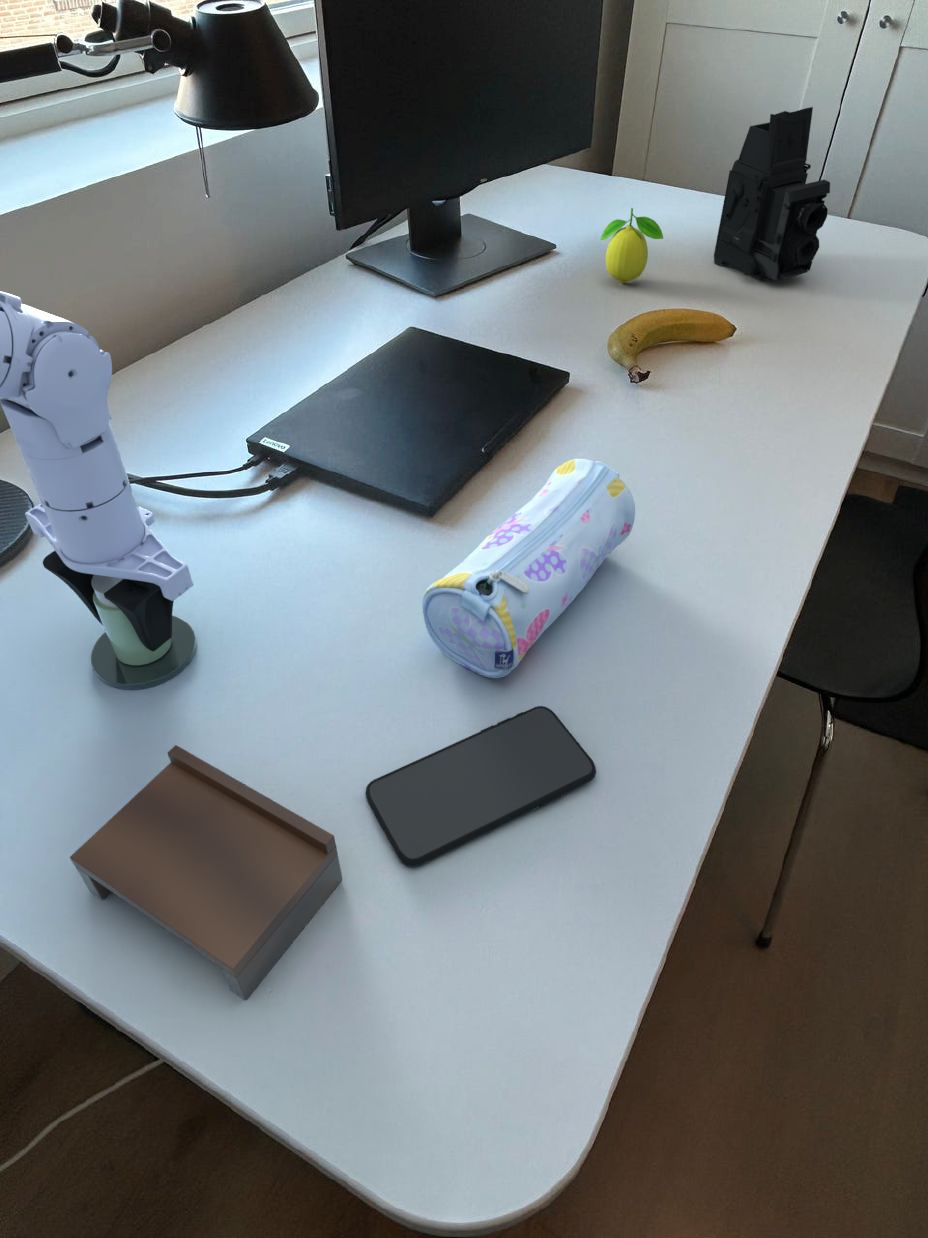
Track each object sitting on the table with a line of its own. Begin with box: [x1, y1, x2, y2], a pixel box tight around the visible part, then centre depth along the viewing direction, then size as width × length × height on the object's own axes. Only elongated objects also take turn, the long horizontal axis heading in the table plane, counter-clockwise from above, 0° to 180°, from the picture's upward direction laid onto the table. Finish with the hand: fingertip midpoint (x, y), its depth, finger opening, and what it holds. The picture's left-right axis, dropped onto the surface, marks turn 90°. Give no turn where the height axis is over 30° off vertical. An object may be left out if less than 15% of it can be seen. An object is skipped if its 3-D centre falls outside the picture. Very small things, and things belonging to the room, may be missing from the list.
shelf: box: [69, 744, 343, 1001], centre depth 53 cm, size 9×13×5 cm
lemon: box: [599, 207, 664, 285], centre depth 117 cm, size 7×6×10 cm
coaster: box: [90, 614, 197, 690], centre depth 70 cm, size 8×8×1 cm
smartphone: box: [365, 705, 597, 868], centre depth 60 cm, size 7×1×15 cm
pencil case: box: [421, 457, 636, 679], centre depth 70 cm, size 21×9×10 cm, turn 145°
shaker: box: [91, 575, 172, 665], centre depth 67 cm, size 4×4×7 cm
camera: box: [713, 106, 831, 282], centre depth 116 cm, size 10×14×20 cm
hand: (137, 630), depth 68 cm, fingers closed on shaker, 4 cm apart
